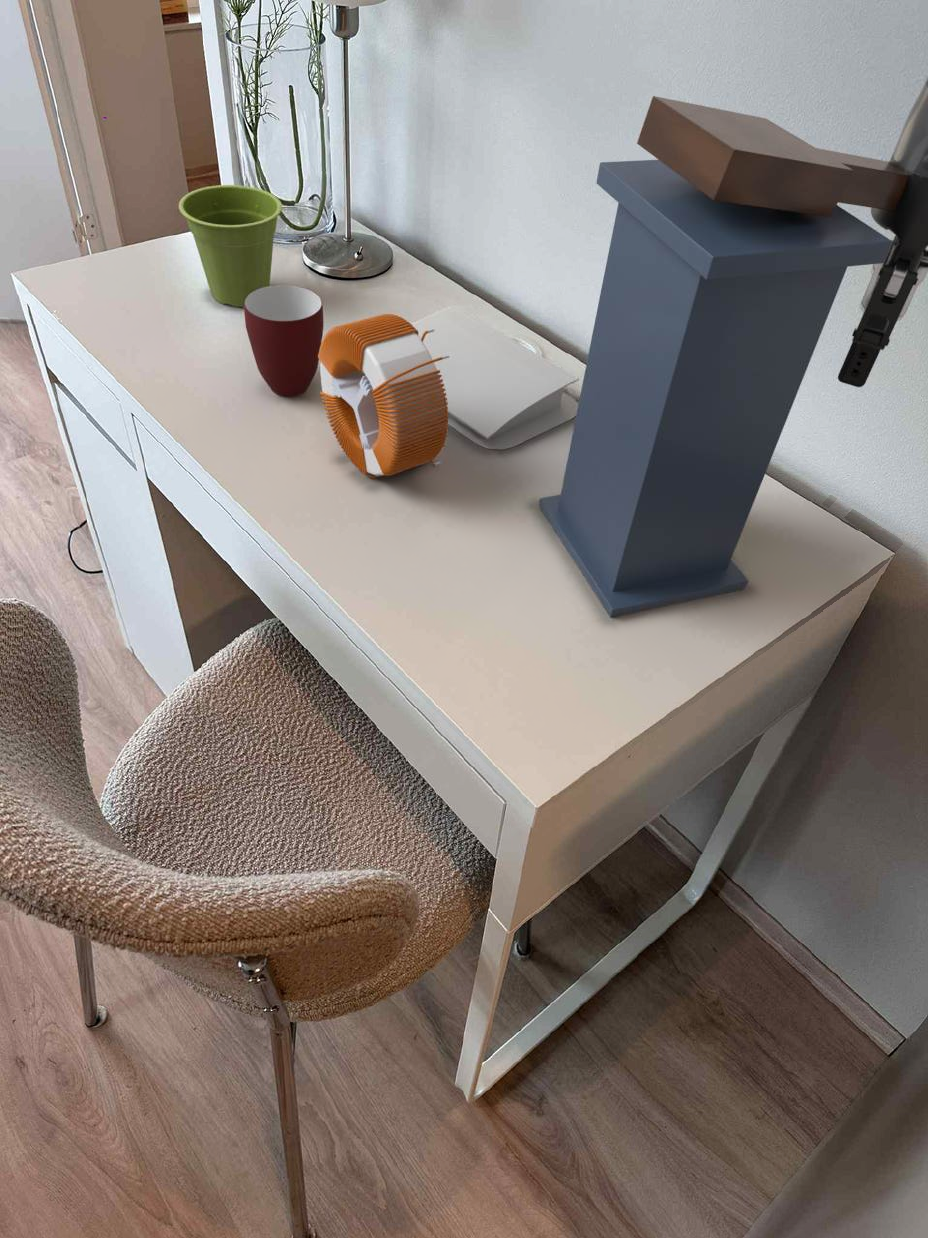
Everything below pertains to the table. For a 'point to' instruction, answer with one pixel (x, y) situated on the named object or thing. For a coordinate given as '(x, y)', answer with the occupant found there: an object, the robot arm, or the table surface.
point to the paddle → (763, 162)
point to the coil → (383, 394)
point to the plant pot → (233, 237)
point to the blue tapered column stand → (691, 380)
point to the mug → (285, 336)
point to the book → (494, 381)
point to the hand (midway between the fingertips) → (858, 360)
